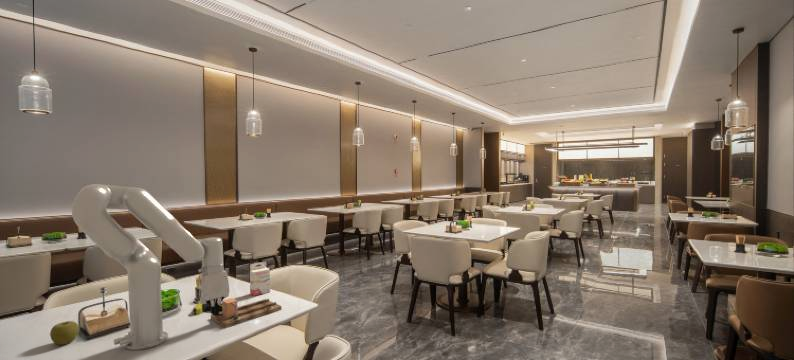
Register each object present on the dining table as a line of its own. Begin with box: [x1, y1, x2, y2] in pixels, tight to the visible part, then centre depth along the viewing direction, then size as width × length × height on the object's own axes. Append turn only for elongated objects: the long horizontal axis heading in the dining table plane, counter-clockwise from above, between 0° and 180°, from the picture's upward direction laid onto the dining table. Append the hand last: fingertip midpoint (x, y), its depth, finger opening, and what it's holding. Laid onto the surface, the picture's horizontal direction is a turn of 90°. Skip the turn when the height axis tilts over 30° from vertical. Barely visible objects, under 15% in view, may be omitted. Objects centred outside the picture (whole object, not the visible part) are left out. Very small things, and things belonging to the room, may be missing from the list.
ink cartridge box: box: [249, 261, 271, 297], centre depth 180 cm, size 9×5×15 cm, turn 130°
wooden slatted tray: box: [210, 298, 282, 329], centre depth 153 cm, size 24×14×4 cm, turn 137°
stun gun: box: [192, 299, 223, 316], centre depth 165 cm, size 3×19×15 cm
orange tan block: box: [221, 297, 238, 317], centre depth 147 cm, size 4×9×6 cm, turn 47°
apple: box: [49, 320, 79, 346], centre depth 131 cm, size 8×8×7 cm
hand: (215, 314), depth 144 cm, fingers closed
